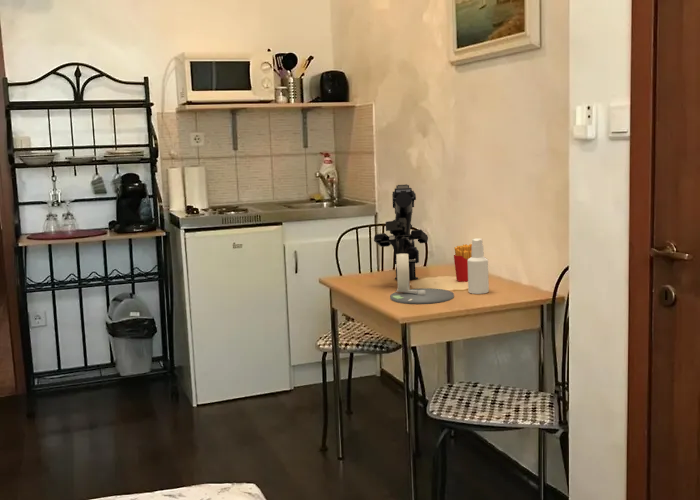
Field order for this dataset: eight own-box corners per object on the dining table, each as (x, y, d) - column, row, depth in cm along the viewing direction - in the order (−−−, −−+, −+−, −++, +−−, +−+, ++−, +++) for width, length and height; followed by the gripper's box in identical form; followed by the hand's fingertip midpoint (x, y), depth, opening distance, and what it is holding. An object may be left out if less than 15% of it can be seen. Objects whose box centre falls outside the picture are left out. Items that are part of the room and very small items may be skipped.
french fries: (458, 282, 280) (457, 246, 278) (452, 280, 284) (451, 245, 282) (480, 279, 283) (480, 244, 281) (474, 277, 287) (473, 242, 285)
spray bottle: (490, 290, 264) (489, 237, 261) (487, 294, 258) (485, 240, 255) (470, 289, 266) (468, 237, 264) (466, 294, 260) (465, 240, 257)
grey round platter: (429, 288, 273) (429, 281, 272) (466, 297, 254) (466, 290, 254) (378, 296, 262) (378, 290, 262) (413, 307, 244) (413, 300, 244)
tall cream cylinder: (420, 291, 261) (418, 254, 259) (414, 294, 258) (412, 256, 256) (400, 289, 265) (399, 253, 263) (394, 292, 262) (392, 255, 260)
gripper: (369, 213, 275) (363, 253, 269) (417, 207, 265) (411, 249, 259) (384, 226, 284) (378, 265, 278) (430, 221, 274) (426, 262, 268)
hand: (397, 260), depth 270 cm, fingers closed
